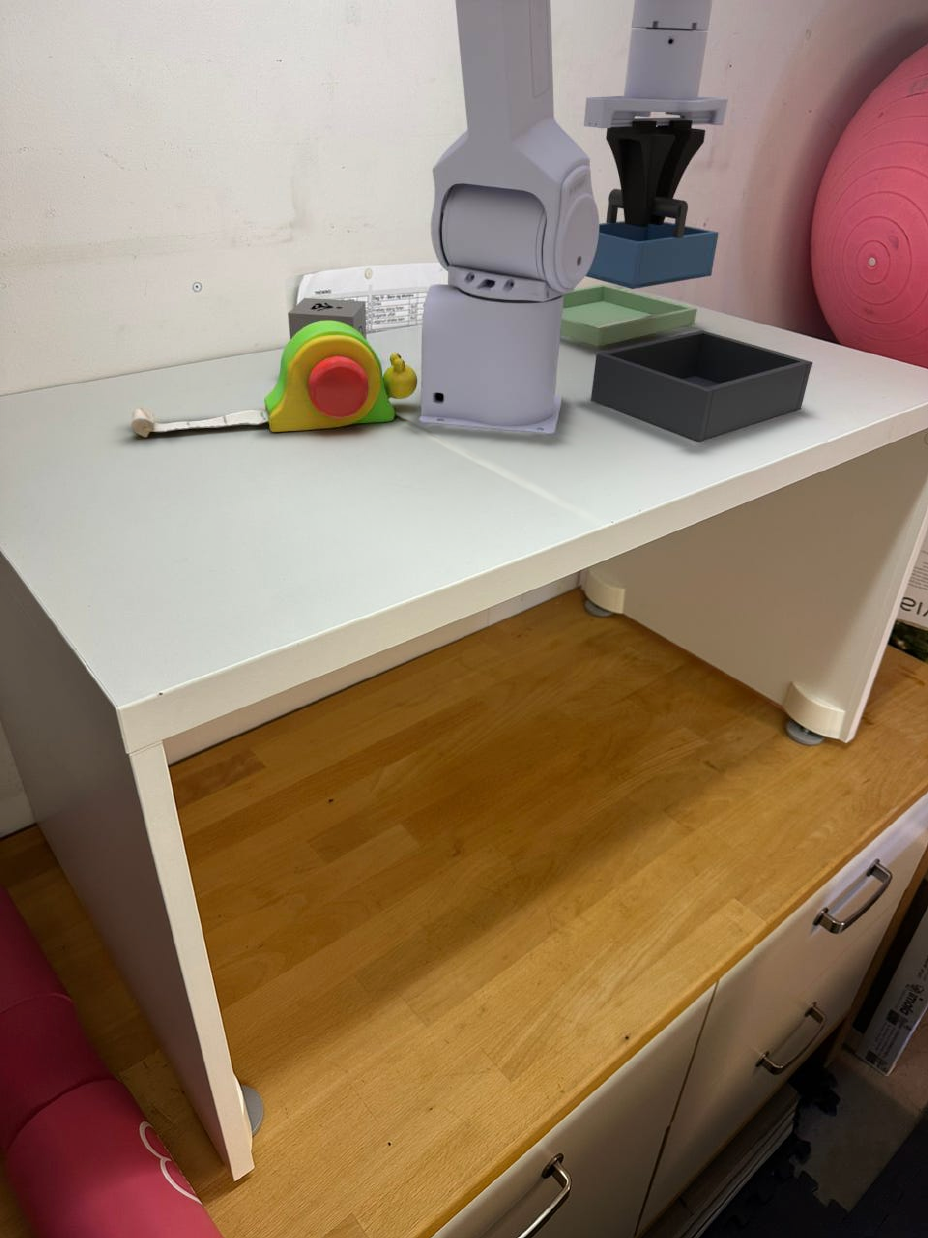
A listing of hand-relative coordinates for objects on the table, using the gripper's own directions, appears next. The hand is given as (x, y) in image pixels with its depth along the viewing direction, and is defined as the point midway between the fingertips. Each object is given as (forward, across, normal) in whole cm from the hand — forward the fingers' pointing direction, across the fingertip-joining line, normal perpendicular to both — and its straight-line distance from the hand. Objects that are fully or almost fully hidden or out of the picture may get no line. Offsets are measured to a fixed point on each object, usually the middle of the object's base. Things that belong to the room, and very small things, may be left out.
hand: (643, 224), depth 75 cm
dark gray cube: (+11, -26, +9) cm, 29 cm away
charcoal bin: (+10, -8, -14) cm, 19 cm away
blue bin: (+4, 0, 0) cm, 4 cm away
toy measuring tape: (+11, -35, 0) cm, 36 cm away
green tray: (+10, +4, +7) cm, 13 cm away
